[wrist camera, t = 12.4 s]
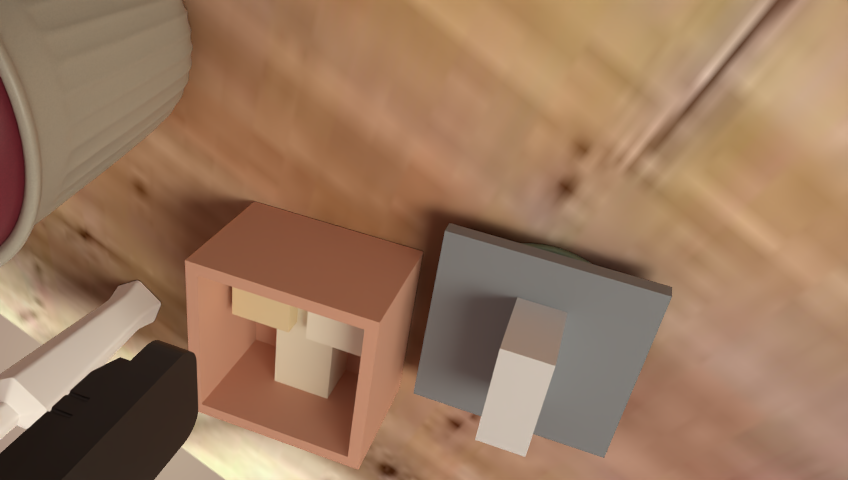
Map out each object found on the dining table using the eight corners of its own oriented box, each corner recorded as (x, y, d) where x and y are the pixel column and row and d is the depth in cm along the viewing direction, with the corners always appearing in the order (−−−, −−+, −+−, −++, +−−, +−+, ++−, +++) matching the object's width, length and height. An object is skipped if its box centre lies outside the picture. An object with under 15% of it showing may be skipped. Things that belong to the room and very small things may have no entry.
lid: (671, 277, 39) (671, 352, 34) (606, 435, 46) (596, 520, 40) (454, 215, 42) (418, 274, 36) (422, 374, 49) (388, 446, 43)
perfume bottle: (120, 264, 53) (-48, 392, 41) (168, 296, 53) (14, 433, 41) (107, 302, 56) (-55, 433, 43) (153, 332, 56) (4, 472, 43)
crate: (423, 251, 44) (379, 322, 38) (397, 396, 51) (356, 479, 44) (254, 201, 46) (184, 260, 40) (251, 347, 53) (191, 418, 47)
